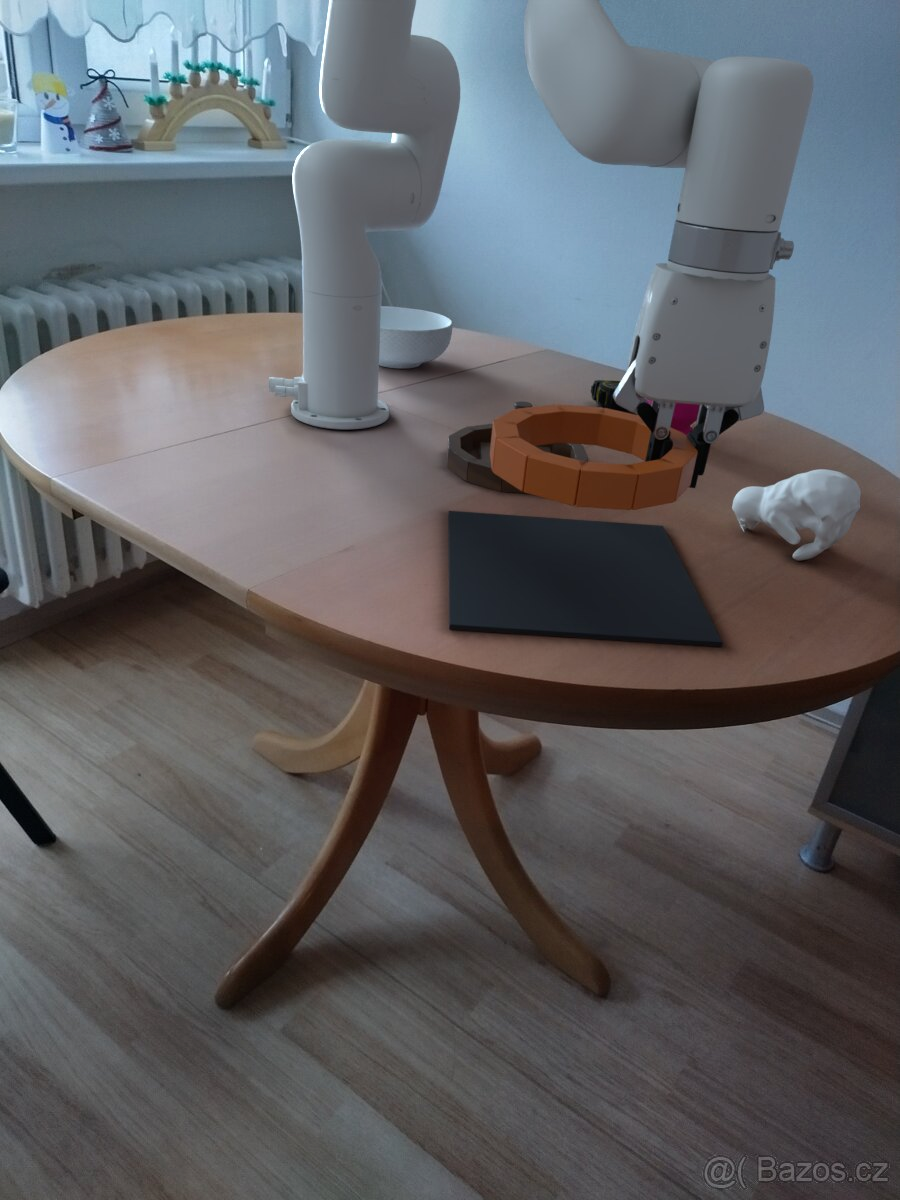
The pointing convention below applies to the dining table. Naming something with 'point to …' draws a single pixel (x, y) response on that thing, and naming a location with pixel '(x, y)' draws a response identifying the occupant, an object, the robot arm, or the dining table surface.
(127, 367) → the dining table surface
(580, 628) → the mat
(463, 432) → the walnut ring
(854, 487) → the white animal figurine
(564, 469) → the orange ring
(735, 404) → the robot arm
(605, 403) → the tape measure
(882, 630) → the dining table surface
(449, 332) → the cereal bowl
